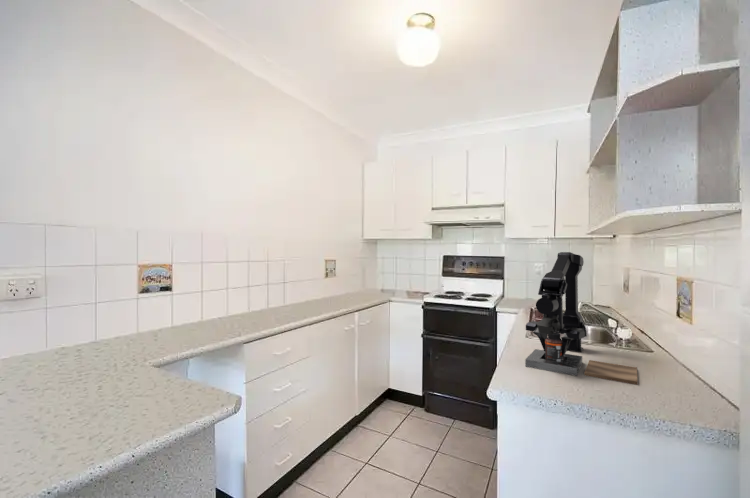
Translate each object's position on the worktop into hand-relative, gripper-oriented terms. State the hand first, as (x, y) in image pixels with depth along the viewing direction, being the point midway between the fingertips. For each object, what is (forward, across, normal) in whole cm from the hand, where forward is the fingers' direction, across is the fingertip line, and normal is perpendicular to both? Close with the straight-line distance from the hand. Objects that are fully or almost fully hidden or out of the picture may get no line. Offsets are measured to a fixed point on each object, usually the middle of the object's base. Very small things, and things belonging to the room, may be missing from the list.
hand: (554, 353), depth 124 cm
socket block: (+4, 0, 0) cm, 4 cm away
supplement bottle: (+4, 0, 0) cm, 4 cm away
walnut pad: (+4, +16, +6) cm, 18 cm away
